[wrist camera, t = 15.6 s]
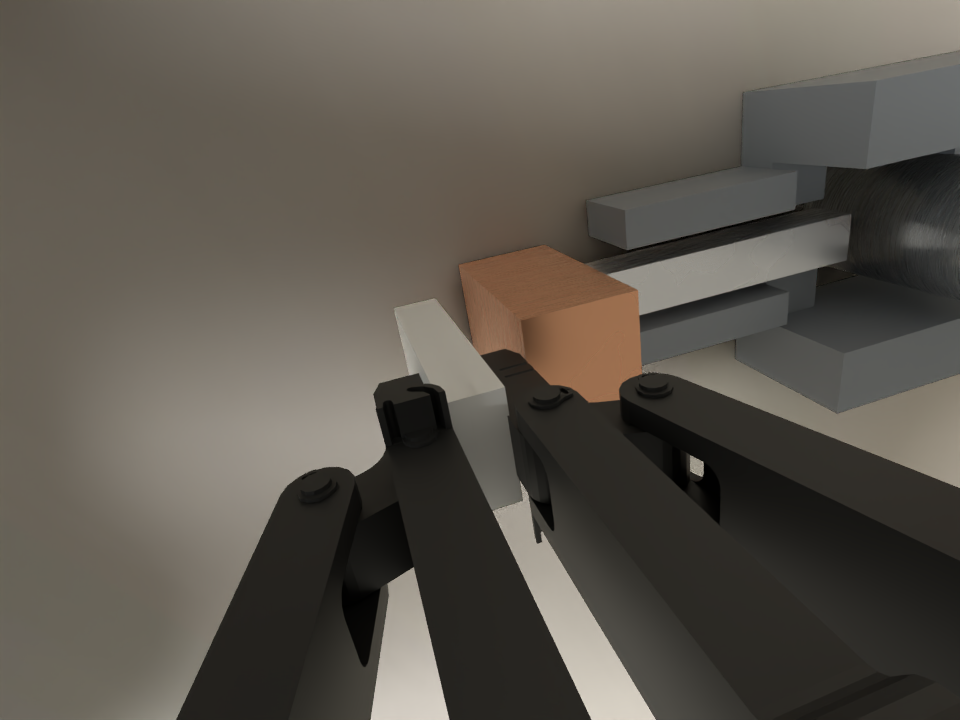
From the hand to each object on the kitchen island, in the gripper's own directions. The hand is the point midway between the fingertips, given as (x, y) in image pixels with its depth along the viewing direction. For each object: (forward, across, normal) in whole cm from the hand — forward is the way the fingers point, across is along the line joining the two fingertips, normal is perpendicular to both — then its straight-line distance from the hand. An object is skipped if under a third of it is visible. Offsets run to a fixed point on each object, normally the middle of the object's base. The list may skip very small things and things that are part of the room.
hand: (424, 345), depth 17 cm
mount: (+2, +15, 0) cm, 15 cm away
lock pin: (+2, +8, 0) cm, 9 cm away
